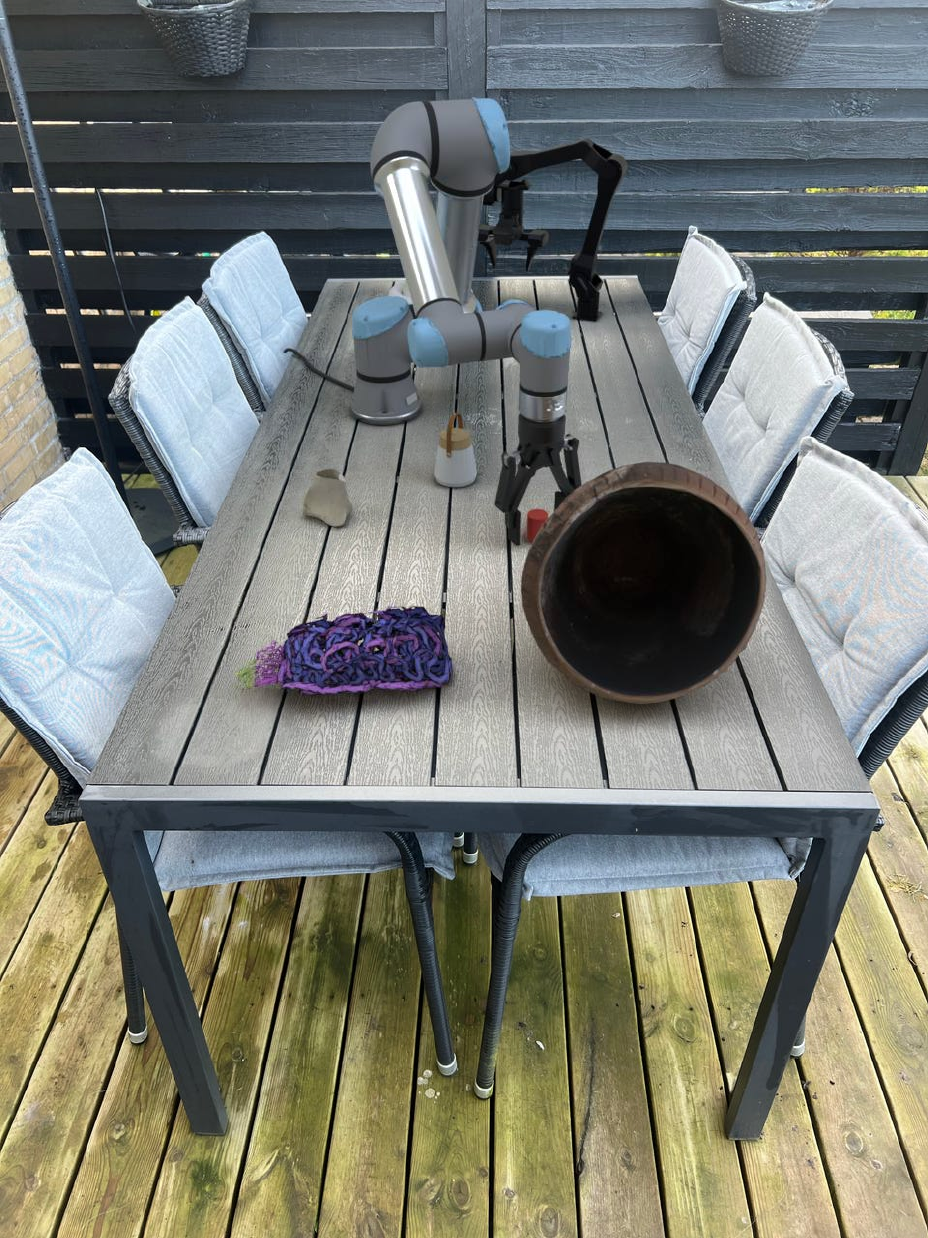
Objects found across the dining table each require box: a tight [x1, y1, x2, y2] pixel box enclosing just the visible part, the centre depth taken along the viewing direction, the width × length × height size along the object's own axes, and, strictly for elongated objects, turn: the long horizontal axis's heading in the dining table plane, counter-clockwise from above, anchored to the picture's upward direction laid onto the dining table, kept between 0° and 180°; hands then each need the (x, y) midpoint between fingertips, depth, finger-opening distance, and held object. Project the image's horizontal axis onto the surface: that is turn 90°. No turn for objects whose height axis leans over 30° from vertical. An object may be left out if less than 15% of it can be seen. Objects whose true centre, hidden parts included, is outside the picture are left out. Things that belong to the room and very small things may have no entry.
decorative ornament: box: [235, 605, 454, 697], centre depth 129 cm, size 13×11×30 cm
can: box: [525, 508, 549, 543], centre depth 160 cm, size 4×4×5 cm
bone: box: [301, 468, 353, 528], centre depth 164 cm, size 9×8×10 cm
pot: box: [520, 461, 767, 705], centre depth 132 cm, size 32×32×30 cm
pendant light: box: [433, 365, 478, 488], centre depth 169 cm, size 8×8×30 cm
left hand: (536, 534), depth 161 cm, fingers open, 9 cm apart
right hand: (510, 269), depth 247 cm, fingers open, 9 cm apart
